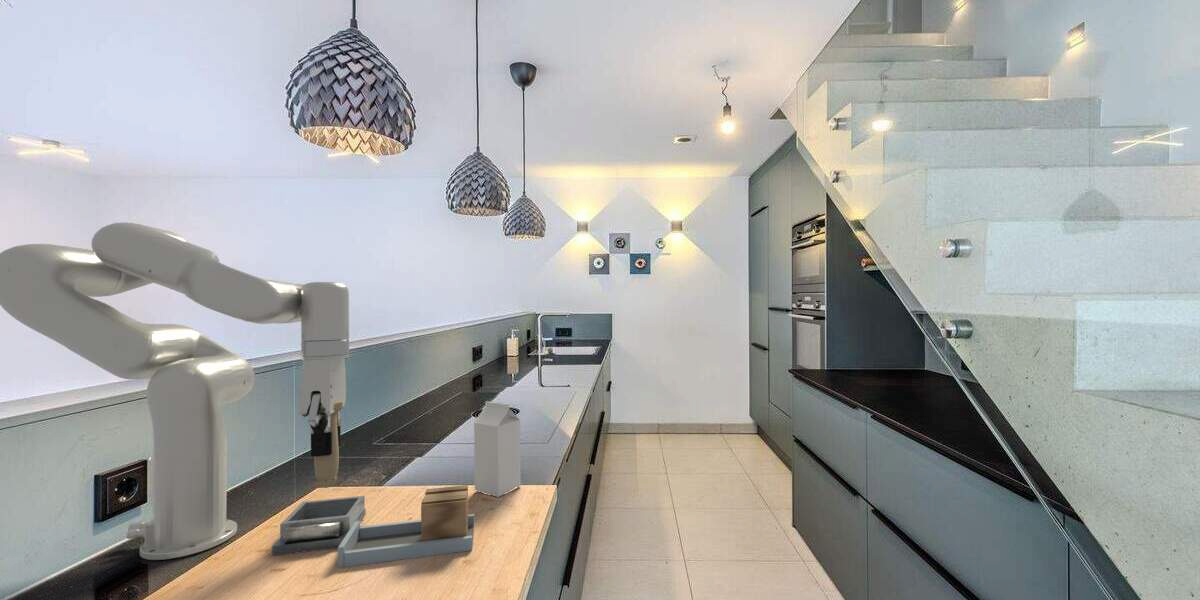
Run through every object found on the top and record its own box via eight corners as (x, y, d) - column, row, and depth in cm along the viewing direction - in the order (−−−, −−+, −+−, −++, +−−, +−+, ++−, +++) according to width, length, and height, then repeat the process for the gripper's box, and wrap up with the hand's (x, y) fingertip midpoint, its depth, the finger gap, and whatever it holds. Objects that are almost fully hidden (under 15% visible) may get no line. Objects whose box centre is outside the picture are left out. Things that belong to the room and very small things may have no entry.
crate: (421, 549, 75) (421, 503, 75) (427, 529, 82) (426, 488, 82) (466, 543, 77) (465, 499, 77) (468, 525, 83) (467, 484, 84)
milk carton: (498, 498, 97) (497, 407, 97) (474, 492, 101) (473, 404, 101) (521, 487, 103) (520, 401, 103) (497, 481, 107) (497, 398, 107)
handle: (320, 493, 80) (319, 406, 80) (304, 486, 83) (304, 402, 84) (349, 485, 84) (348, 401, 84) (332, 478, 87) (332, 398, 88)
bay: (337, 567, 71) (337, 547, 71) (355, 538, 80) (355, 521, 80) (472, 550, 76) (472, 531, 76) (474, 524, 85) (474, 508, 85)
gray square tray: (272, 555, 75) (272, 530, 75) (301, 523, 87) (301, 501, 87) (346, 546, 77) (346, 522, 78) (365, 516, 89) (365, 495, 89)
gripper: (319, 347, 91) (319, 441, 91) (282, 354, 75) (282, 468, 75) (360, 346, 93) (361, 438, 93) (333, 352, 77) (334, 464, 76)
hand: (326, 450), depth 84 cm, fingers closed on handle, 3 cm apart
